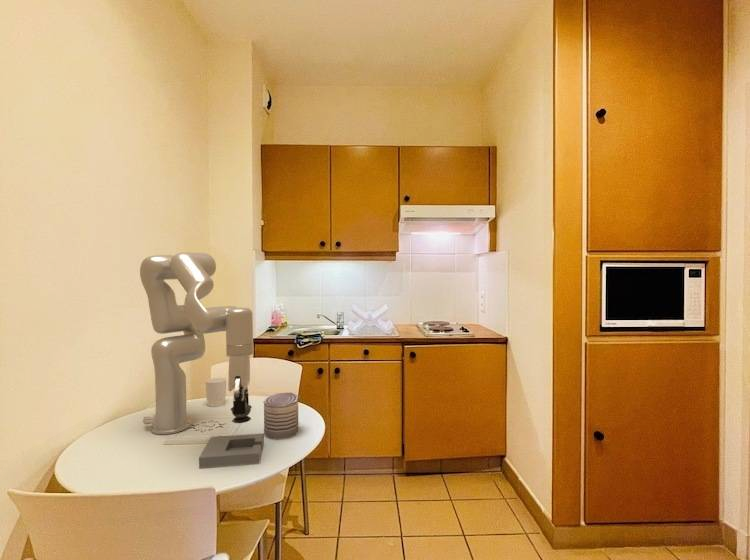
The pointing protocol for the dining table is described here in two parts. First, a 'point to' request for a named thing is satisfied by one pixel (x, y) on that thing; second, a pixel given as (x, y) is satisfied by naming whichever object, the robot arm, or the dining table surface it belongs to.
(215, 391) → the white cup
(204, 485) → the dining table surface
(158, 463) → the dining table surface
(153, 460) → the dining table surface
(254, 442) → the plate
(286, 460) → the dining table surface
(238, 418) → the dark chess piece
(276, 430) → the can
